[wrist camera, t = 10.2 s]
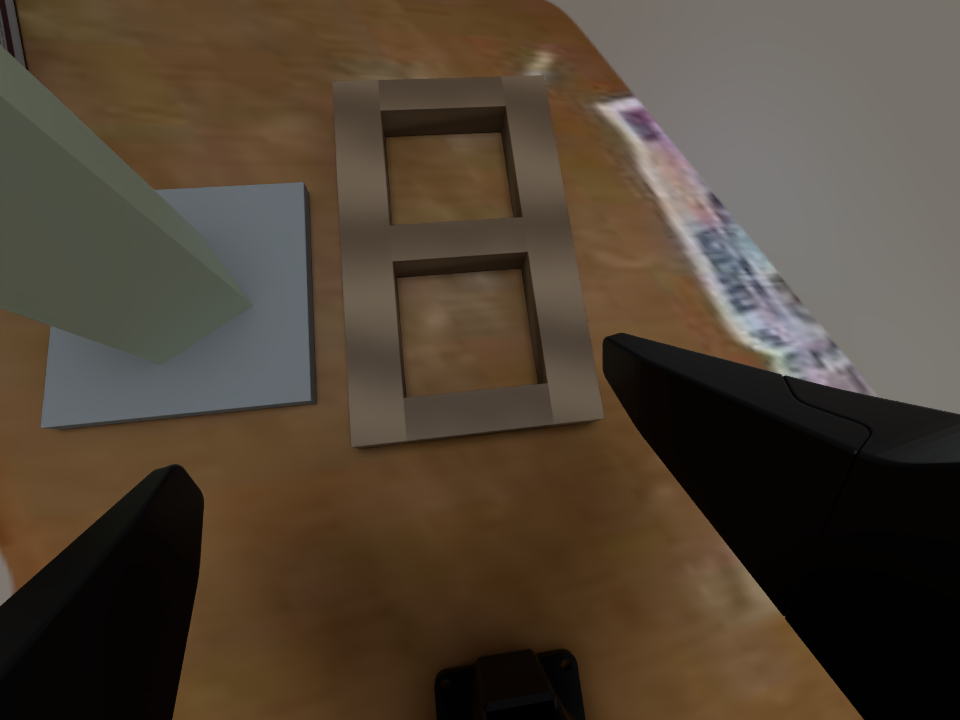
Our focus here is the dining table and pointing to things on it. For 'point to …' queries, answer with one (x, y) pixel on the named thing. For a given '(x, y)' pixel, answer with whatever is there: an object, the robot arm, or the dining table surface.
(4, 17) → the supplement box
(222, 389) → the grey mat
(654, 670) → the dining table surface
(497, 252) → the puzzle board
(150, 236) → the sage block
